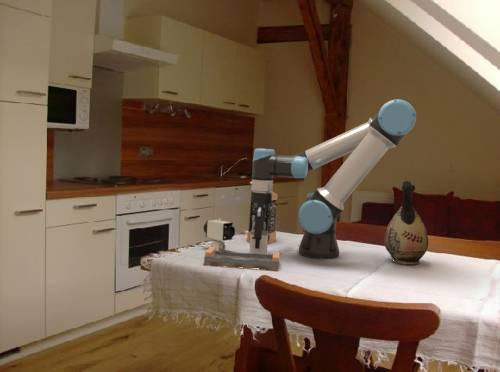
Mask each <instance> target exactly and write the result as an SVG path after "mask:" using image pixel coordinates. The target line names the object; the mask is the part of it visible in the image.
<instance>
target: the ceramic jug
mask: <svg viewBox="0 0 500 372" xmlns="http://www.w3.org/2000/svg"><path fill="white" fill-rule="evenodd" d="M401 190H402V193H403V196H402V197H403V200H402V204H401V206H400V208H398V210H397V212H396V213H395V214H394V215H393V216H392V217H391V220H390V221H389V222H388V225H387V227H386V230H385V234H384V238H383V239H384V241H383V242H384V247H385V249H386V251H387V252H388V254H389V255H390V257H391V259H392V261H393V260H394V261H395V262H394V263H396V262H397V263H396V264H399V263H401V264H400V265H419V264H420V259H422V258H423V257H424V256H425V254H427V250H428V249H429V248H428V247H429V235H428V232H427V228H426V226H425V224H424V221H423V220H422V218H421V217H420V215H419V214H418V211H417V210H416V209H415V208H414V205H413V192H415V190H416V186H415V185H414V184H412V183H411V181H409V180H405V181H403V182H402V186H401ZM418 263H419V264H418Z"/></svg>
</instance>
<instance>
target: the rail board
mask: <svg viewBox="0 0 500 372" xmlns="http://www.w3.org/2000/svg"><path fill="white" fill-rule="evenodd" d="M215 250H216V247H211V246H209V247H208V249H207V250H205V253H204V257H203V259H204V260H203V266H206V265H210V266H209V267H218V266H227V267H226V268H231V267H243V268H242V269H244V268H259V269H265V270H264V271H269V272H270V271H272V272H278V271H279V266H280V254H281V253H280V251H273V253H272V254H267V255H264V254H250V253H249V252H236V251H235V252H234V251H225V250H224V251H215Z"/></svg>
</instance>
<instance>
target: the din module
mask: <svg viewBox="0 0 500 372" xmlns="http://www.w3.org/2000/svg"><path fill="white" fill-rule="evenodd" d="M252 237H254V230H251V233H250V242H249V252H248V253H250V254H253V248H254V239H252ZM268 245H269V244H268V231H265V230H262V244H261V254H264V255H268Z"/></svg>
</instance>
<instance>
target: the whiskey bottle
mask: <svg viewBox="0 0 500 372" xmlns="http://www.w3.org/2000/svg"><path fill="white" fill-rule="evenodd" d="M271 194H272V202H271V203H269V204H264V206H265V208H266V213H265V219H264V230H265V231H268V244H267V245H270V244H272V243H274V242H276V241H277V232H276V218H277V217H276V215H277V214H276V213H277V200H278V198H279V197H278V196H279V195H278V193H276V192H274V191H273V190H272V191H271ZM249 199H250V200H251V193H250V194H249ZM249 207H250V209H249V219H248V220H249V222H248V231H247V233H246V235H247V236H246V241H247V242H249V243H250V233H251V230H255V207H257V203H253V202H251V201H250V206H249Z"/></svg>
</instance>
